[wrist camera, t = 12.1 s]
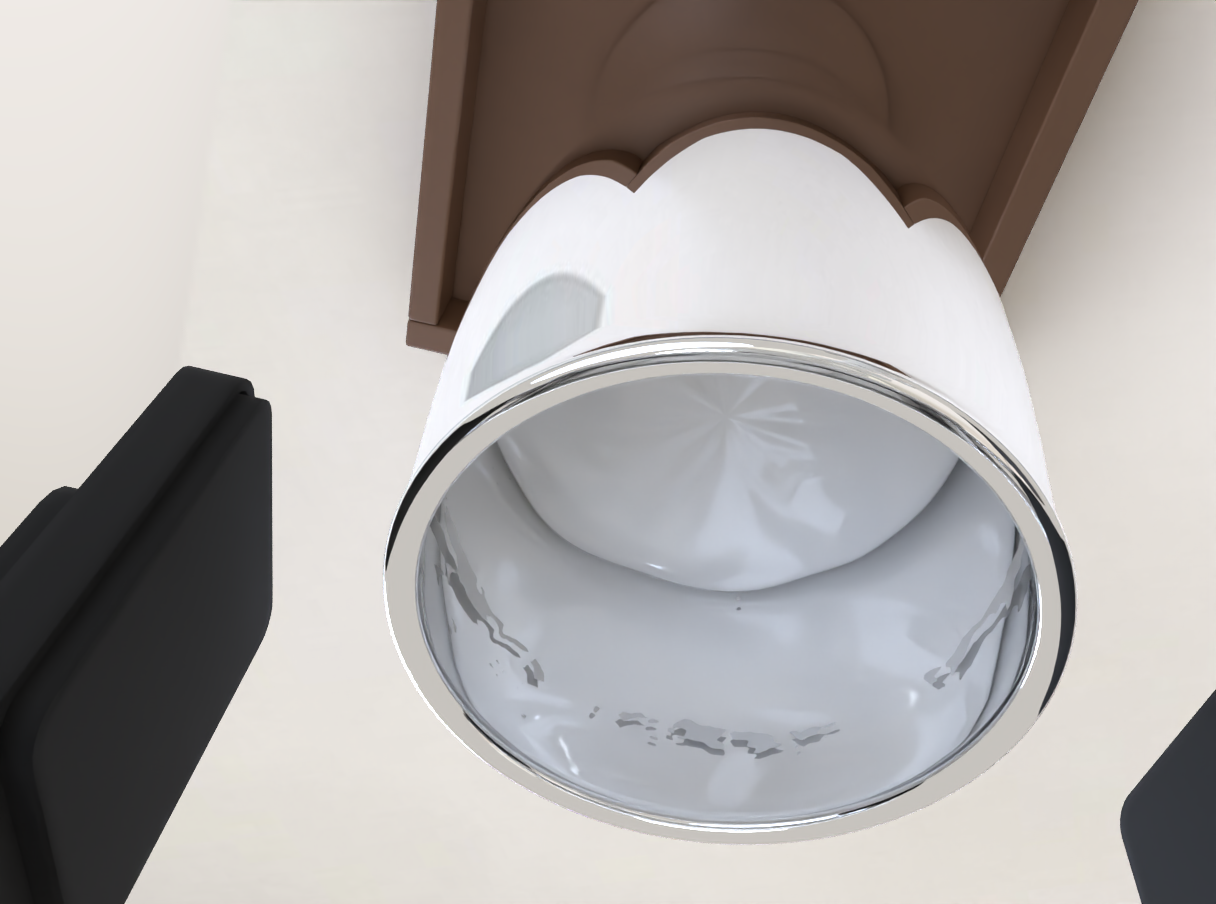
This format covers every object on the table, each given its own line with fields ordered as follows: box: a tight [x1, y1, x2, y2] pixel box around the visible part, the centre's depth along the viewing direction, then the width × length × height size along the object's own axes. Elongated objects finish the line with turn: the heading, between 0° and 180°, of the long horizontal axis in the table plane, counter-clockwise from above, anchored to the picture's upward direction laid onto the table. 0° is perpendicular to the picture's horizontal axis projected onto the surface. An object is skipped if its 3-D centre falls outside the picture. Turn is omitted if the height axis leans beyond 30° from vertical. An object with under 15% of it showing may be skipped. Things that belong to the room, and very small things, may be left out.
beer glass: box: [383, 0, 1078, 845], centre depth 16 cm, size 7×7×15 cm
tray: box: [406, 0, 1138, 355], centre depth 22 cm, size 12×12×2 cm
